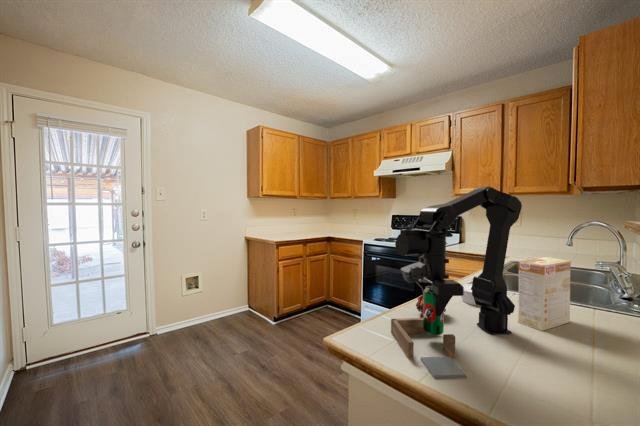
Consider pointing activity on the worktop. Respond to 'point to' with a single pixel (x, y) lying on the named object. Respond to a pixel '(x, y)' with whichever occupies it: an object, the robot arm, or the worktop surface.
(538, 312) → the coffeecake box
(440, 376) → the slate coaster
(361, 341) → the worktop surface
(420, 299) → the dragon fruit
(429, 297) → the soda can
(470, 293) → the ramekin
